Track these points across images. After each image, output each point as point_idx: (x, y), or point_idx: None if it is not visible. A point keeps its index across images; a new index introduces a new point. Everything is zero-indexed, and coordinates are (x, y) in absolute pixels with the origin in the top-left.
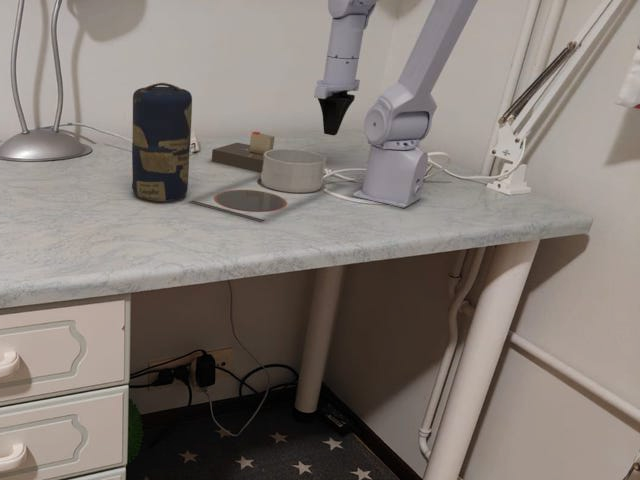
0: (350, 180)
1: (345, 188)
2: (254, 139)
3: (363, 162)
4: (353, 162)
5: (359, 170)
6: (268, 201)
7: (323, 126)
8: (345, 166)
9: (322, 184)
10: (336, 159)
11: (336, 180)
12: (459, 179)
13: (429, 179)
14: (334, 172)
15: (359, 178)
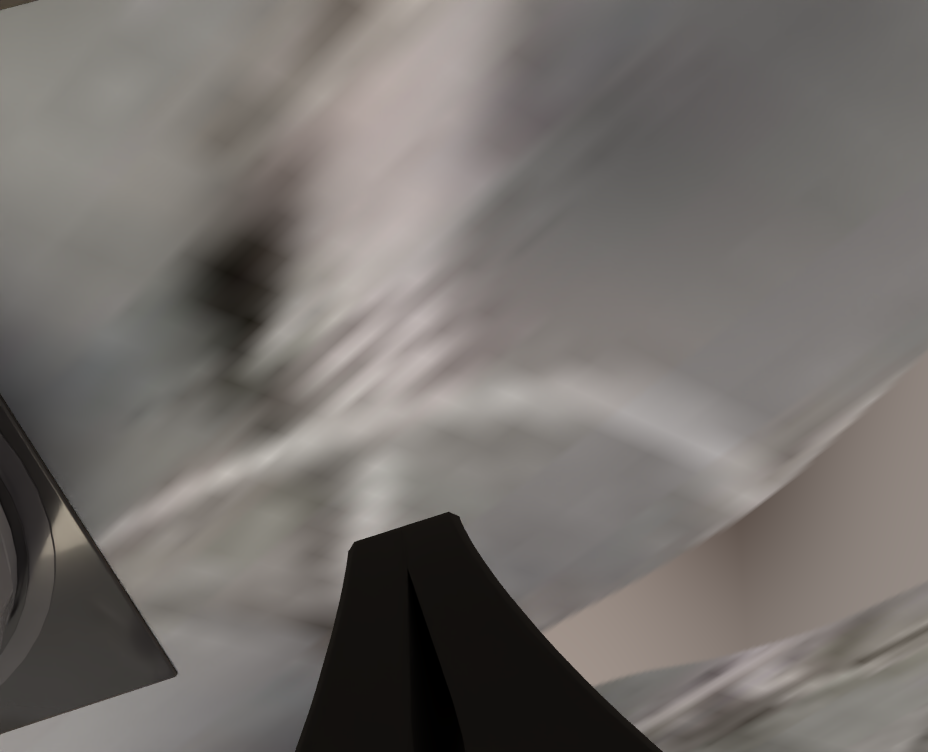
0: None
1: (154, 722)
2: None
3: (906, 290)
4: (846, 252)
5: (650, 447)
6: None
7: (343, 604)
8: (669, 316)
9: (23, 637)
10: (835, 90)
11: (244, 577)
12: (914, 746)
13: (800, 713)
14: (418, 413)
15: None
